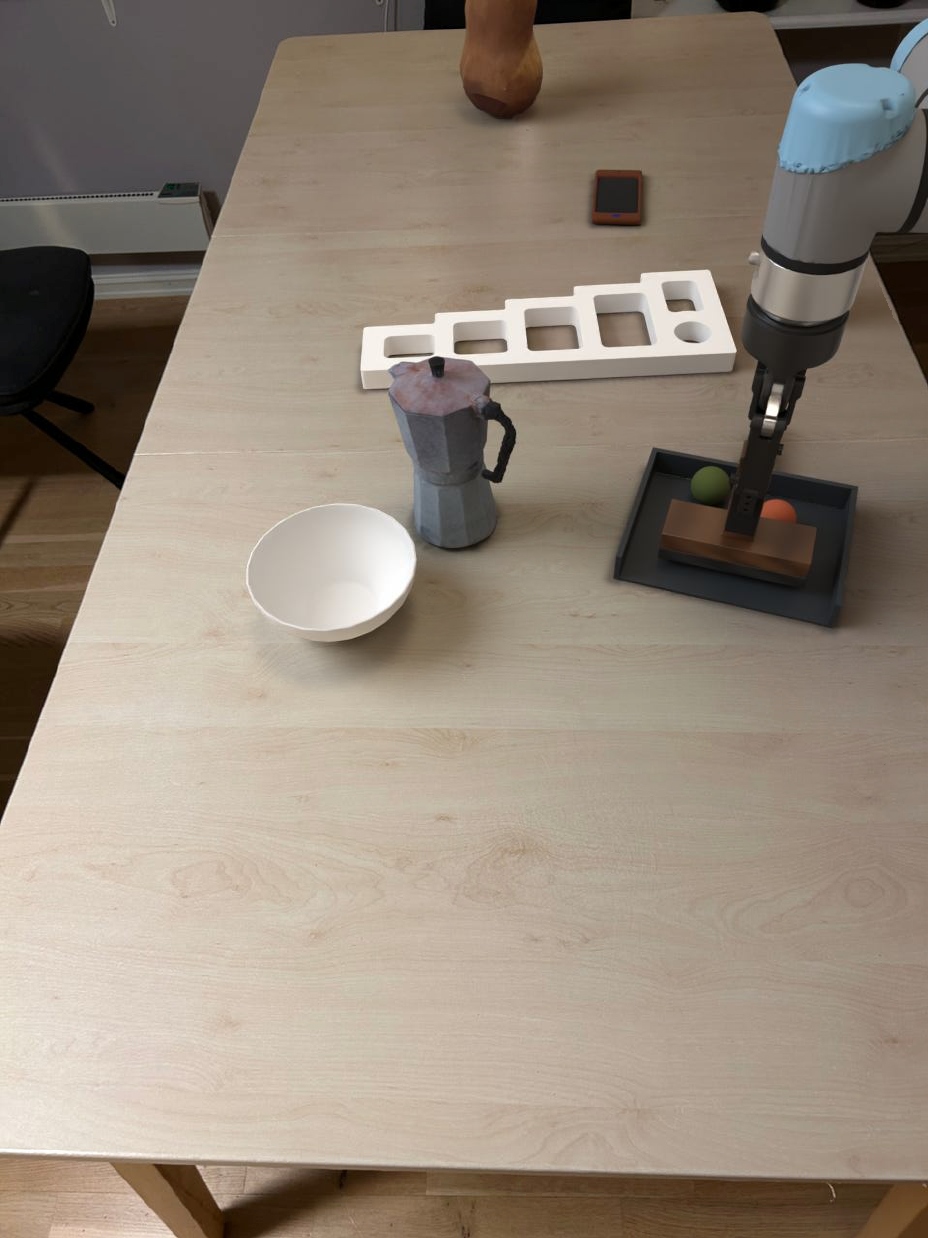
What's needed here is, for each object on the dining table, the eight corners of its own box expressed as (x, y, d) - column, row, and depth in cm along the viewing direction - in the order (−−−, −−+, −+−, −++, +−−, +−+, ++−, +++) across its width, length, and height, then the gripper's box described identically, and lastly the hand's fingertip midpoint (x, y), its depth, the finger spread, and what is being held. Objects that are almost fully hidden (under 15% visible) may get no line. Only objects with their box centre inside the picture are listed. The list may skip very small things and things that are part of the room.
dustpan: (832, 628, 88) (842, 606, 86) (613, 578, 93) (615, 556, 91) (858, 446, 104) (867, 423, 101) (668, 412, 109) (672, 389, 106)
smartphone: (591, 218, 134) (595, 167, 144) (591, 224, 135) (595, 174, 144) (641, 219, 134) (642, 168, 143) (640, 225, 134) (641, 174, 144)
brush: (808, 551, 92) (845, 447, 82) (802, 588, 90) (839, 485, 79) (667, 523, 96) (685, 419, 85) (657, 557, 93) (674, 454, 82)
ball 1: (725, 510, 99) (733, 474, 99) (726, 503, 95) (734, 465, 95) (687, 504, 100) (695, 468, 100) (687, 497, 96) (694, 459, 96)
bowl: (441, 651, 89) (436, 604, 83) (275, 695, 86) (259, 650, 81) (400, 535, 98) (393, 487, 93) (250, 572, 96) (234, 524, 91)
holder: (363, 389, 114) (360, 370, 112) (369, 305, 125) (367, 286, 123) (733, 371, 113) (737, 352, 111) (706, 288, 124) (709, 269, 122)
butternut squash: (548, 97, 162) (552, -76, 143) (534, 132, 154) (536, -46, 135) (470, 93, 165) (464, -77, 145) (453, 127, 157) (444, -48, 137)
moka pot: (428, 469, 105) (412, 312, 89) (545, 522, 99) (550, 364, 83) (375, 520, 100) (348, 364, 84) (494, 579, 94) (489, 423, 78)
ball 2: (798, 510, 96) (803, 498, 92) (788, 547, 95) (793, 536, 91) (758, 502, 97) (761, 490, 93) (749, 538, 96) (752, 527, 93)
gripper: (763, 240, 76) (716, 459, 94) (732, 351, 67) (687, 569, 85) (860, 252, 74) (792, 473, 92) (841, 368, 65) (771, 587, 83)
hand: (742, 519), depth 89 cm, fingers closed on brush, 2 cm apart
